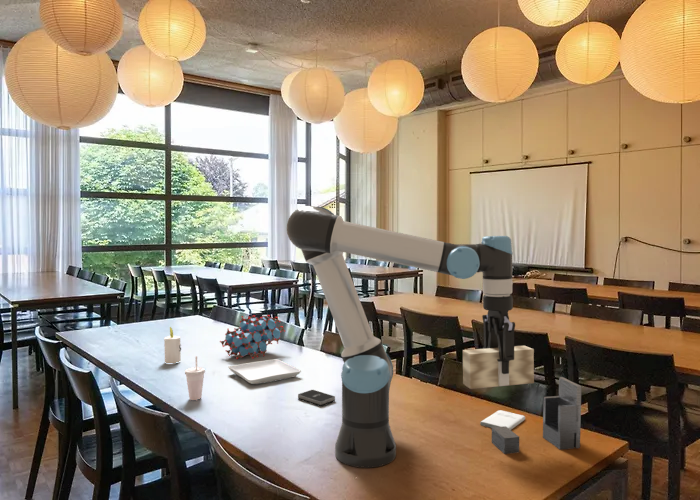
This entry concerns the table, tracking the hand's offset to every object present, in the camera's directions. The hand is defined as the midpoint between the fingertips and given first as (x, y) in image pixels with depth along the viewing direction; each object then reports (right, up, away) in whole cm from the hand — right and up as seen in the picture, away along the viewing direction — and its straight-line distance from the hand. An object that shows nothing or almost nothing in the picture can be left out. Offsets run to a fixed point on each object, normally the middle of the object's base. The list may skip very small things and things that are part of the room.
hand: (498, 382), depth 136 cm
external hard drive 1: (-50, -15, +32) cm, 61 cm away
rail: (0, 0, 0) cm, 0 cm away
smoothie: (-90, -14, +33) cm, 97 cm away
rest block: (0, -16, -4) cm, 16 cm away
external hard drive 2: (+5, -16, +13) cm, 21 cm away
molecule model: (-82, -12, +91) cm, 123 cm away
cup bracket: (+15, -15, -1) cm, 22 cm away
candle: (-113, -12, +79) cm, 139 cm away
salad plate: (-72, -13, +59) cm, 94 cm away
